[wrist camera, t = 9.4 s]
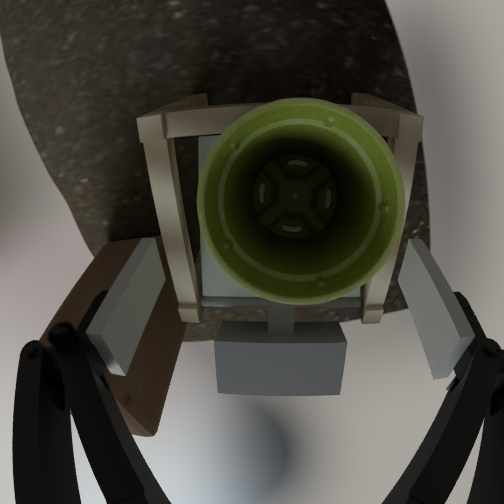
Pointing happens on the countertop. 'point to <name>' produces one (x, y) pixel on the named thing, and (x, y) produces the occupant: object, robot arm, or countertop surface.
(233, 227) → the plant pot
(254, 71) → the countertop surface
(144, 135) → the frame
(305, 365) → the trapdoor
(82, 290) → the wooden block
